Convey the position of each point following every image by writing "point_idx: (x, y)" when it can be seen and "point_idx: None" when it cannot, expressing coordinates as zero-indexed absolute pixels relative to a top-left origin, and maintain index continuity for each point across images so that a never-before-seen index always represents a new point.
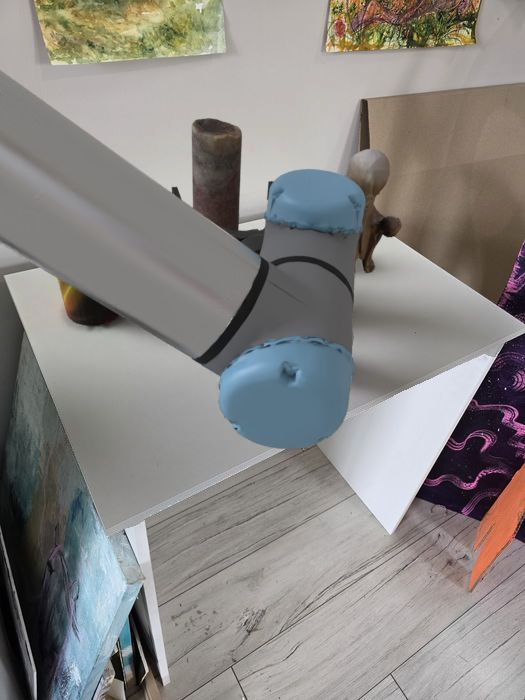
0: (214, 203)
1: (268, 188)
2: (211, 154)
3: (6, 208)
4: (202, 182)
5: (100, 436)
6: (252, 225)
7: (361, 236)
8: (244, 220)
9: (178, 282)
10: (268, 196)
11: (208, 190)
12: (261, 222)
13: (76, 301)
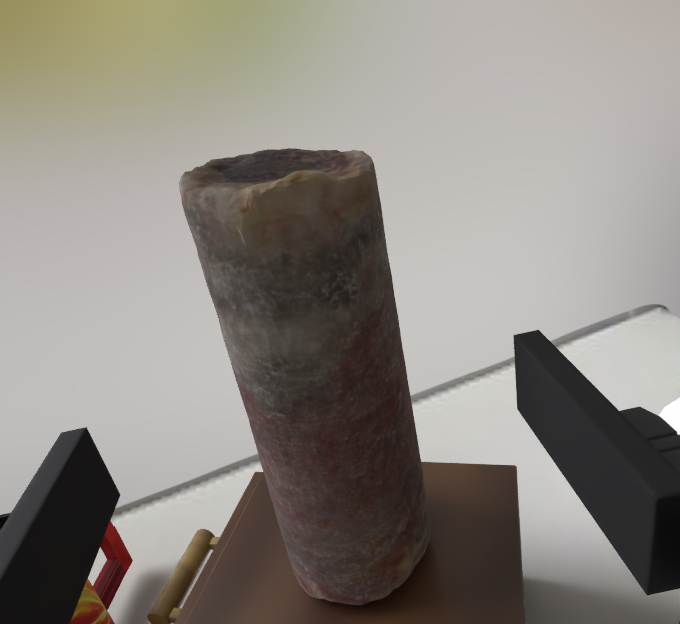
0: (304, 438)
1: (518, 366)
2: (246, 263)
3: None
4: (247, 369)
5: None
6: (475, 390)
7: None
8: (456, 380)
9: None
10: (524, 401)
11: (272, 396)
12: (494, 380)
13: None
